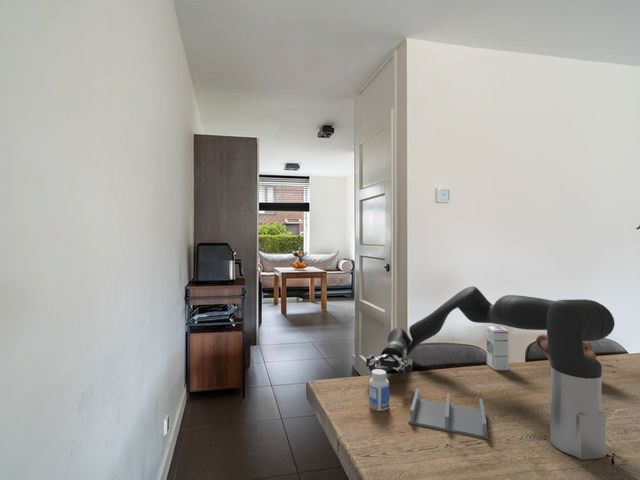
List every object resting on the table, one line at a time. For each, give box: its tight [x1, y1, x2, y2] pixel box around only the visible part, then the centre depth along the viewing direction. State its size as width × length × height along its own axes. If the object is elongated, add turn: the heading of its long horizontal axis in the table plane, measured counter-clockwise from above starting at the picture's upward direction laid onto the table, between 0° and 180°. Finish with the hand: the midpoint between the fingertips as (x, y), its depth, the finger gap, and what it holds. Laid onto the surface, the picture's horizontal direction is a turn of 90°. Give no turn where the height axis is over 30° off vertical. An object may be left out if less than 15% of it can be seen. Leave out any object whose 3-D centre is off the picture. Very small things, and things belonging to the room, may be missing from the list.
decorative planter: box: [535, 334, 597, 366], centre depth 124 cm, size 20×12×14 cm, turn 28°
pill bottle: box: [368, 368, 390, 412], centre depth 97 cm, size 6×5×10 cm
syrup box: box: [486, 325, 510, 371], centre depth 129 cm, size 6×6×14 cm
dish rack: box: [408, 388, 489, 440], centre depth 92 cm, size 14×18×4 cm
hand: (385, 370), depth 106 cm, fingers open, 8 cm apart
